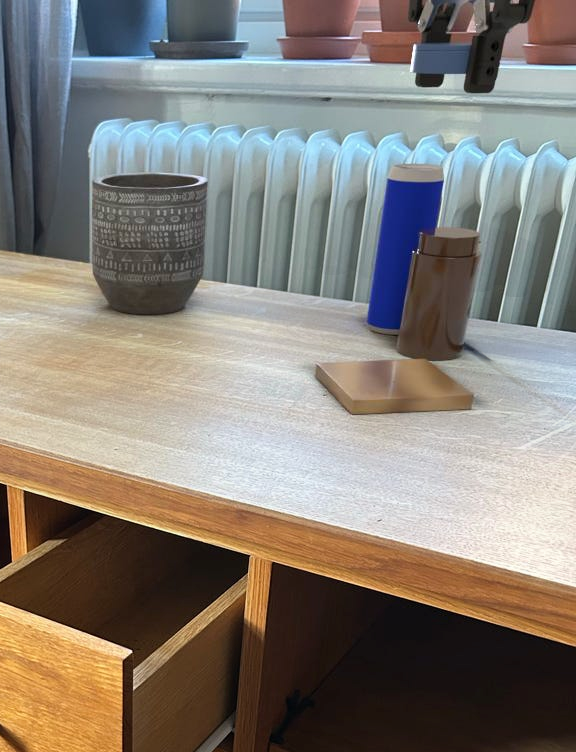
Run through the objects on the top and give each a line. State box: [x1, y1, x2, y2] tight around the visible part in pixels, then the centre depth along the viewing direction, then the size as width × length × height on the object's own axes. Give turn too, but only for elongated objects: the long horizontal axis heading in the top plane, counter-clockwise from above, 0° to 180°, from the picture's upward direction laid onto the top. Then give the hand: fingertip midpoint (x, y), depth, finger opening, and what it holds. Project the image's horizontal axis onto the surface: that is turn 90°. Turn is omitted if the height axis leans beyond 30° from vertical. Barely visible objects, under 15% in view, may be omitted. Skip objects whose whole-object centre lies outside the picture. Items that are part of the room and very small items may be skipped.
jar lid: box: [410, 41, 472, 75], centre depth 74 cm, size 6×6×2 cm
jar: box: [395, 226, 482, 361], centre depth 88 cm, size 6×6×11 cm
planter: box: [91, 171, 209, 316], centre depth 103 cm, size 12×12×13 cm
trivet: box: [314, 358, 475, 415], centre depth 81 cm, size 10×10×1 cm
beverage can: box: [366, 163, 445, 336], centre depth 93 cm, size 5×5×15 cm
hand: (452, 89), depth 75 cm, fingers closed on jar lid, 6 cm apart
